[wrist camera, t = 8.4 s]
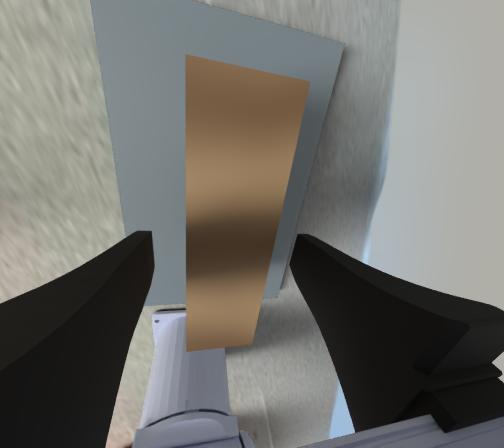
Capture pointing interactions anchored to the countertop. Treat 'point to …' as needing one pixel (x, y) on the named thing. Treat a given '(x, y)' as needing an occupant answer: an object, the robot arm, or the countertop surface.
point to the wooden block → (234, 192)
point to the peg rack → (173, 114)
